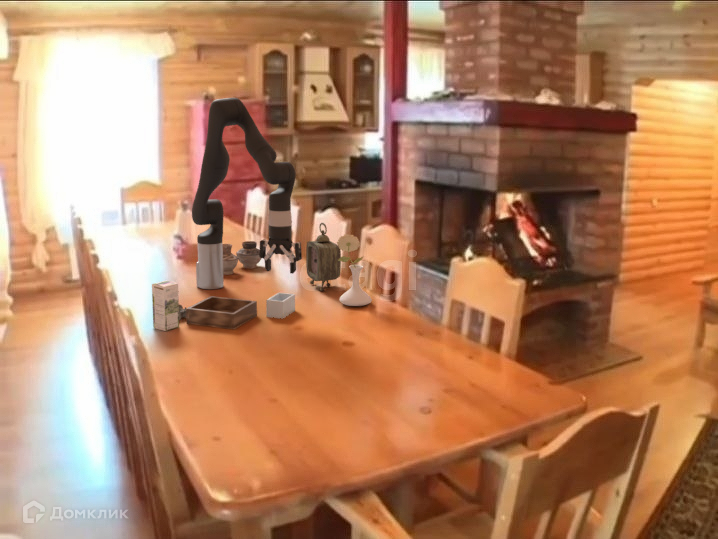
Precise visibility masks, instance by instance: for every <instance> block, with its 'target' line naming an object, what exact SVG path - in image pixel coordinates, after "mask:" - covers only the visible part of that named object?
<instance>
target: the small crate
mask: <svg viewBox="0 0 718 539" xmlns="http://www.w3.org/2000/svg"><path fill="white" fill-rule="evenodd" d="M265 301H266V302H265V303H266V305H265V306H266V307H265V309H266V312H265V313H266V314H265V315H266V317H267V318H273V317H274V318H275V319H280V318H281V320H282V319H283V318H284V319H285V318H287V317H288V316H290V315H292V313H294V312H296V294H295V293H287V292H277V293H275V294H273V295H272V296H270V297H269V298H267V299H266V300H265ZM289 314H290V315H289ZM286 316H287V317H286ZM274 318H273V319H274ZM284 319H283V320H284Z"/></svg>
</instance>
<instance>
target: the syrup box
mask: <svg viewBox="0 0 718 539" xmlns="http://www.w3.org/2000/svg"><path fill="white" fill-rule="evenodd" d="M151 297H152V298H151V300H152V318H153V319H152V326H153V329H156V330H158V331H164V332H167V331H170V330H171V331H172V330H173V329H178V328H180V320H179V305H180V303H179V283H177V282H175V281H171V280H163V281H159V282H155V283H152V284H151Z"/></svg>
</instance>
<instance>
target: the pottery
mask: <svg viewBox="0 0 718 539" xmlns="http://www.w3.org/2000/svg"><path fill="white" fill-rule="evenodd" d="M222 244H223V276H225V275H226V276H227V275H233V274H234V272H235V271H234V269H235V268H236V267H237V265H238V262H239V263H240V264H242V267H243V269H256V268H257V266H258V264H260V262H261V260H262V259H263V258H260V257H259V250H260V248H257V246H258V244H257V241H253V240H246V241H243V242H241V245H242V246H241V247H242V248H240V249H238V250H237V251H236V253H235V254H234V253H232V248H233V244H232V243H222Z"/></svg>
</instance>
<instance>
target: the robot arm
mask: <svg viewBox="0 0 718 539" xmlns="http://www.w3.org/2000/svg"><path fill="white" fill-rule="evenodd" d="M208 110H209V111H208V119H207V121H208V123H207V134H206V141H205V148H204V152H203V158H202V163H201V167H200V173H199V174H200V175H199V181H198V185H197V189H196V192H195V196H194V200H193V204H192V206H191V208H192V209H191V219H192V222H193V223H194V224H195V225H197V226H207V225H208V226H209V225H210V226H209V227H208V229H206V230H205V231H202V232H200V233H199V234H198V235H197V239H196V240H197V242H196V243H197V261H196V262H195V275H196V287H197V288H199V289H202V290H216V289H217V290H218V289H222V288H224V275H223V244H224V243H223V237H224V206H223V203H222V201H221V200H220V199H216V198H215V199H210V196H211V195H212V194H213V193H214V191H215V190H216V189H217V188H218V187H219V186H220V185H221V184H222V183H223V182H224V180H225V179H226V177H227V175H228V171H229V166H230V162H231V161H230V160H231V159H230V154H229V151H228V150H227V147H226V145H225V143H224V141H223V135H224V130H225V128H226V127H230V126H232V127H233V126H238V127H240V129H241V130H242V131H243V133H244V144H245V148H246V151H247V152H248V154H249V155H250V156H251V158H253V160H254V161H255V162H256V163H257V166H258V168H259V170H260V173H261V175H262V178H263V179H264V181H265V182H267V183H268V184H270V185H273V186H274V185H275V186H276V185H277V189H276V190H274V191H272V192H271V193H270V194H269V195H268V240H267V239H265V238H264V239H261V240H260V241H259V257H260V258H262V259H263V260H264V269H265V271H266V272H271V271H272V259H271V258H272V257H273V255H281V256H283V255H285V256H286V258H288V259H289V261H290V262H289V273H290V274H293V275H294V273H295V272H296V271H297V262H300V261H301V260H302V259H303V256H302V255H303V254H302V243H301V241H298V242H293V241H292V240H293V239H292V237H293V236H292V235H293V233H292V232H293V230H292V229H293V228H292V226H293V225H292V223H293V220H292V219H293V217H292V209H291V207H292V206H291V204H292V203H291V202H292V201H291V200H292V193H293V190H294V185H295V183H296V182H295V181H296V176H297V175H296V169H295V166H294V165H293V164H292V163H291V162H290V161H277V162H276V160H277V157H278V156H277V152H276V150H275V149H274V148H273V147H272V145H271V144H270V143H269V142H268V141H267V140H266V138H265V137H264V136H263V135H262V133H261V131H260V130H259V128H258V126H257V125H256V123H255V120H254V119H253V118H252V116H251V114H250V112H249V111H248V109H247V107H246V106H245V104H244V103H243V102H242V100H240V99H239V98H237V97H226V98H218V99H215V100H213V101H212V102H211V104H210V107H209V109H208ZM267 247H269V248H270V249H269V250H268V252H267ZM292 247H293V249H294V251H293V250H292Z"/></svg>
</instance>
